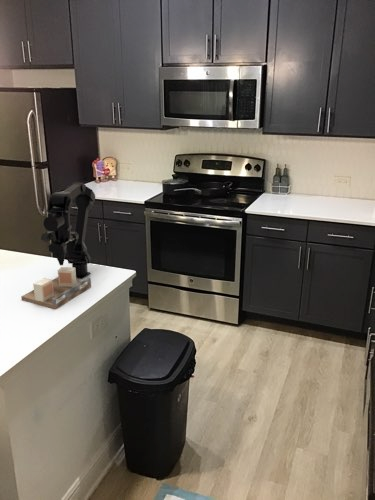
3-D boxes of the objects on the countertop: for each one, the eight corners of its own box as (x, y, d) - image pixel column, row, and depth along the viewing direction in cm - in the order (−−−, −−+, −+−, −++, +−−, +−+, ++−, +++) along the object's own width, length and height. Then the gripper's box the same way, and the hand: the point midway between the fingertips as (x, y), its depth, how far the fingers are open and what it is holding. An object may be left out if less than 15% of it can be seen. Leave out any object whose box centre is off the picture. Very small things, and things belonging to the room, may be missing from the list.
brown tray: (59, 279, 190) (58, 270, 188) (91, 287, 183) (90, 278, 181) (21, 299, 171) (20, 290, 170) (55, 309, 164) (54, 299, 163)
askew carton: (62, 282, 184) (61, 266, 181) (76, 282, 183) (75, 267, 181) (59, 286, 179) (57, 270, 177) (73, 287, 179) (71, 271, 177)
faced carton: (35, 299, 168) (33, 283, 165) (46, 293, 173) (44, 277, 171) (43, 302, 166) (41, 285, 164) (54, 295, 171) (52, 279, 169)
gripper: (51, 217, 182) (54, 252, 187) (33, 230, 164) (36, 268, 169) (77, 218, 181) (80, 254, 186) (61, 231, 163) (64, 269, 168)
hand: (65, 261), depth 178 cm, fingers open, 9 cm apart
